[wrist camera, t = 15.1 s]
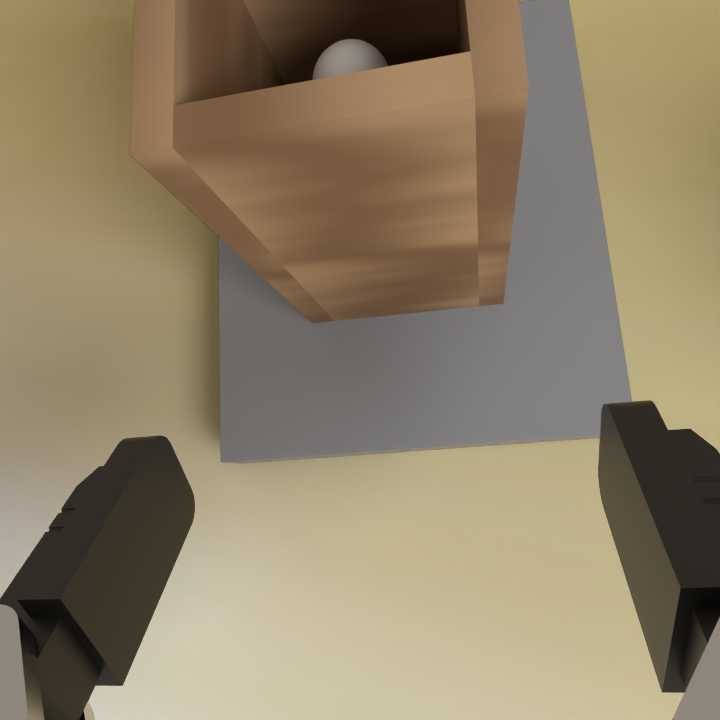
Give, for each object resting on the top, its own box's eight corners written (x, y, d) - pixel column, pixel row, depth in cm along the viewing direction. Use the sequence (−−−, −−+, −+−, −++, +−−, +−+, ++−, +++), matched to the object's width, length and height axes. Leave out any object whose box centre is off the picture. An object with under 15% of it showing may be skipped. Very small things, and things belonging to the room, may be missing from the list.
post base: (561, 27, 20) (620, -312, 12) (624, 436, 17) (766, 391, 9) (233, 90, 23) (76, -156, 14) (239, 463, 20) (45, 450, 11)
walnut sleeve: (485, 126, 19) (487, -249, 9) (503, 303, 17) (529, 88, 8) (307, 154, 20) (139, -155, 10) (313, 323, 19) (129, 154, 9)
